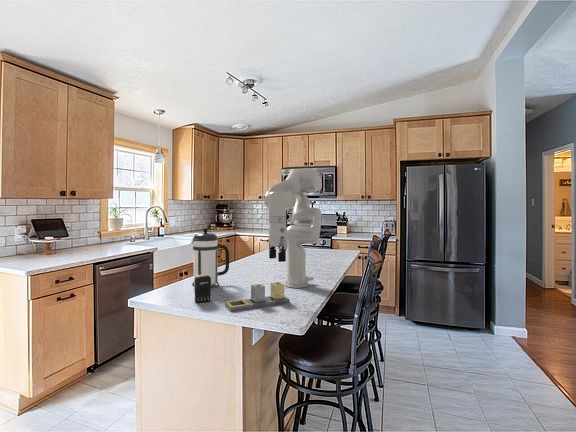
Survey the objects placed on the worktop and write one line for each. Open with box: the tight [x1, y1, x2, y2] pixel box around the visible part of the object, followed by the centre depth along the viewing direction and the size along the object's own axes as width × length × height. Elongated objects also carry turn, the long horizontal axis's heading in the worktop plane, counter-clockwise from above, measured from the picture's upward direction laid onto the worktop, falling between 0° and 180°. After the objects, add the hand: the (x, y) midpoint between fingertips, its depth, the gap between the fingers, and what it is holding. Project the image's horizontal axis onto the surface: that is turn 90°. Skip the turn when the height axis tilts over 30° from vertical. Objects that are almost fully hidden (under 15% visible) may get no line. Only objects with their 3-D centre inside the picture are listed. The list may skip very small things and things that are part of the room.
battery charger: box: [193, 275, 212, 303], centre depth 139 cm, size 7×4×11 cm, turn 117°
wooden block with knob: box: [270, 281, 285, 301], centre depth 139 cm, size 4×4×8 cm
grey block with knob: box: [250, 283, 266, 303], centre depth 135 cm, size 4×4×8 cm
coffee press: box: [189, 227, 230, 288], centre depth 166 cm, size 17×16×30 cm
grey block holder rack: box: [224, 295, 291, 312], centre depth 135 cm, size 26×8×2 cm, turn 116°
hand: (277, 259), depth 138 cm, fingers open, 9 cm apart
